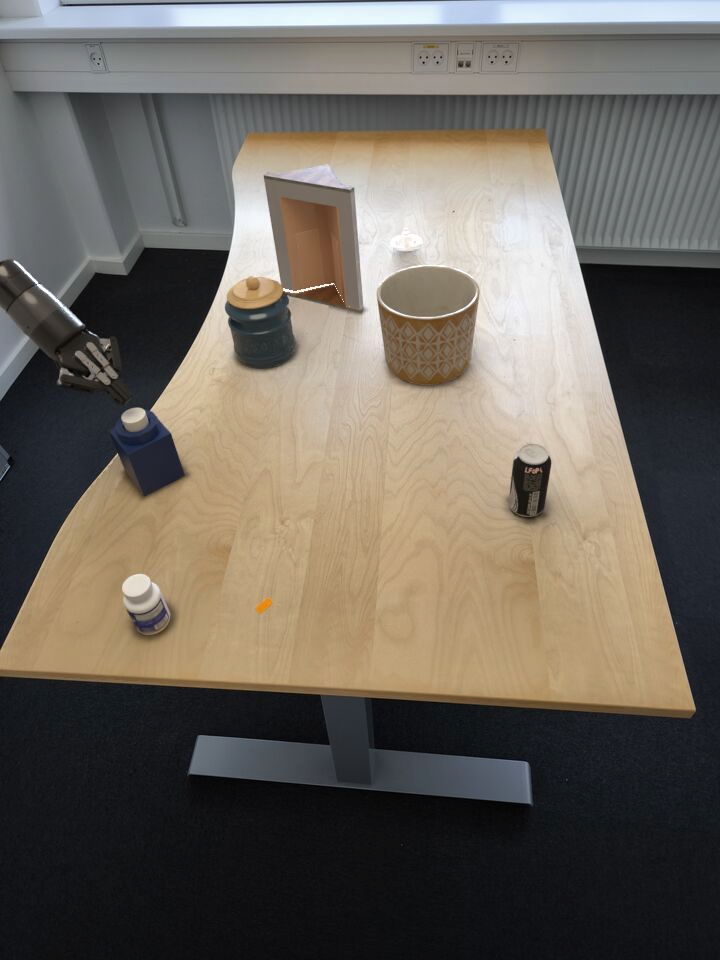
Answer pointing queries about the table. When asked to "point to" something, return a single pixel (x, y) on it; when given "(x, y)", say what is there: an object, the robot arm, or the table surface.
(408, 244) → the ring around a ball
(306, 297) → the cabinet
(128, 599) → the pill bottle
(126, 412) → the white bottle cap
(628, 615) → the table surface
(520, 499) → the beverage can
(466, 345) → the planter
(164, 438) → the blue push button box
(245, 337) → the canister
